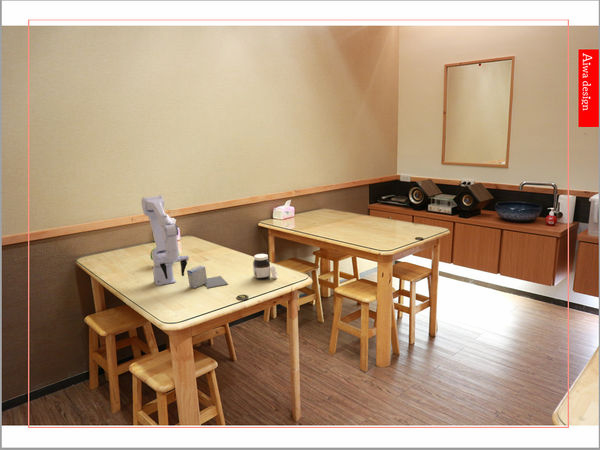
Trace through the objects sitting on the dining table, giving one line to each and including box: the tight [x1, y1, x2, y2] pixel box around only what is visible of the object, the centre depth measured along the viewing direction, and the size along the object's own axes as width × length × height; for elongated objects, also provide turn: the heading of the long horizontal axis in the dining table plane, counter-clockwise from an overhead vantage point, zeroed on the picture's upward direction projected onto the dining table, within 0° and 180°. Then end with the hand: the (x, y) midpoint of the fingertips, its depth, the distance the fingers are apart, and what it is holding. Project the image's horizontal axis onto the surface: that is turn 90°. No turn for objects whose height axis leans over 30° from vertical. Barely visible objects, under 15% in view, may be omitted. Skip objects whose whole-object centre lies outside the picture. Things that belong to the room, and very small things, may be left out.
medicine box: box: [186, 265, 208, 289], centre depth 217 cm, size 8×4×9 cm, turn 141°
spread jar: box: [252, 253, 279, 281], centre depth 225 cm, size 12×11×12 cm
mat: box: [204, 275, 229, 289], centre depth 222 cm, size 10×13×1 cm
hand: (174, 276), depth 212 cm, fingers open, 7 cm apart
